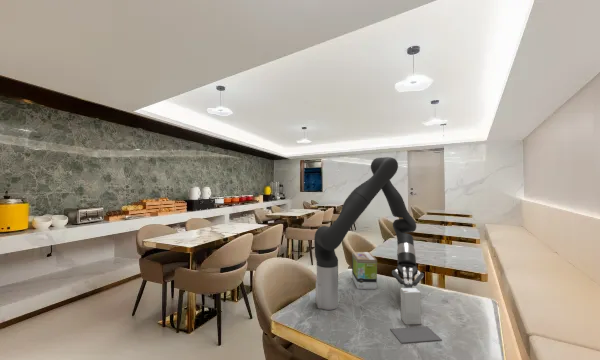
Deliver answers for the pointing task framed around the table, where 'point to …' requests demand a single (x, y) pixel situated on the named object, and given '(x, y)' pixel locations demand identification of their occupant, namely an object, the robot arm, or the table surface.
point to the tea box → (364, 270)
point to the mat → (415, 334)
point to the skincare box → (410, 306)
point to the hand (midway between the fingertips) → (408, 294)
